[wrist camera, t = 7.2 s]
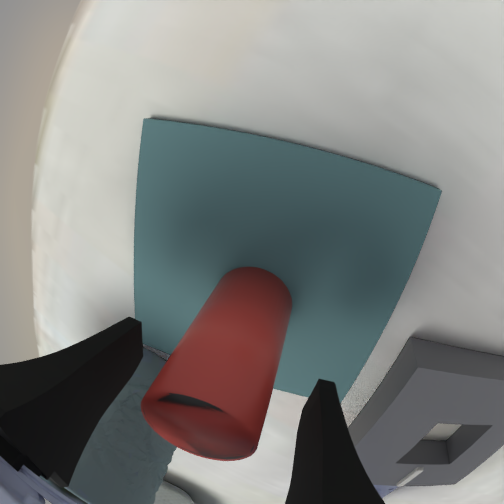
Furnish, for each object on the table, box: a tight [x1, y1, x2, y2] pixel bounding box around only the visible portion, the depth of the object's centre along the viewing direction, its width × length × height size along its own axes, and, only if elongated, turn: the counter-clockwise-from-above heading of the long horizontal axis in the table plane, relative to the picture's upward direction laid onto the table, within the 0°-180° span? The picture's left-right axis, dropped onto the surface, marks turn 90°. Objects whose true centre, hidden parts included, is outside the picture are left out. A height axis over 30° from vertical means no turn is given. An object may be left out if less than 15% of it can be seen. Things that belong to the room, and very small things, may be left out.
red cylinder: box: [141, 267, 292, 461], centre depth 12 cm, size 4×4×8 cm
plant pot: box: [40, 348, 177, 504], centre depth 17 cm, size 10×10×12 cm
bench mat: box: [134, 118, 442, 403], centre depth 15 cm, size 14×14×1 cm
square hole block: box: [348, 337, 504, 486], centre depth 16 cm, size 14×14×3 cm
